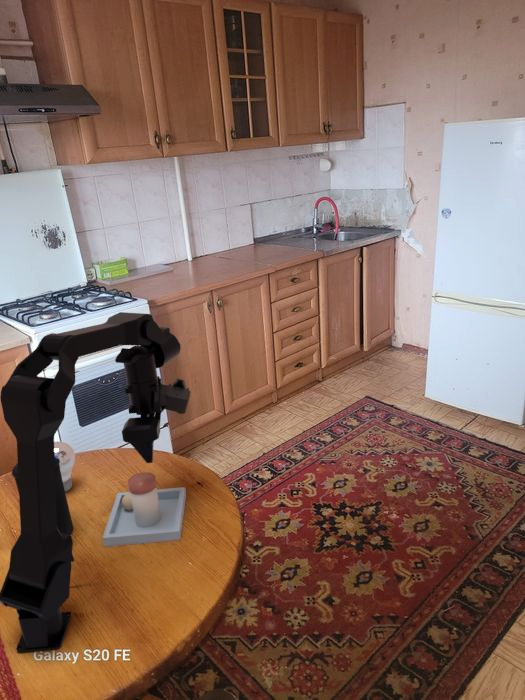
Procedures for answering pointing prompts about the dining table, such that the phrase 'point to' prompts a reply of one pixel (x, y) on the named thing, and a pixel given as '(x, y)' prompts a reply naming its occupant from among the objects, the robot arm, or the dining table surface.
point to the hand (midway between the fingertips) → (153, 450)
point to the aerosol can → (61, 501)
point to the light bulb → (65, 462)
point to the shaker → (144, 499)
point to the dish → (167, 529)
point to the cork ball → (127, 502)
